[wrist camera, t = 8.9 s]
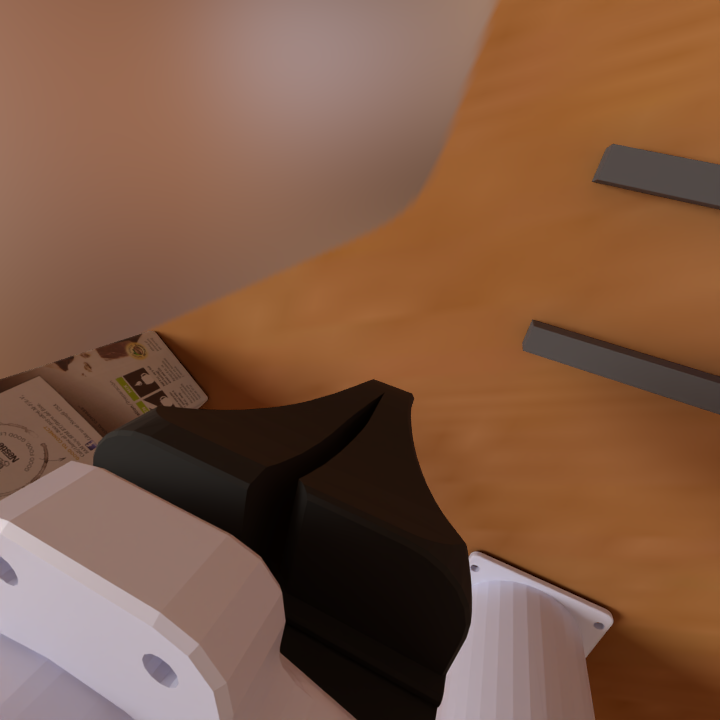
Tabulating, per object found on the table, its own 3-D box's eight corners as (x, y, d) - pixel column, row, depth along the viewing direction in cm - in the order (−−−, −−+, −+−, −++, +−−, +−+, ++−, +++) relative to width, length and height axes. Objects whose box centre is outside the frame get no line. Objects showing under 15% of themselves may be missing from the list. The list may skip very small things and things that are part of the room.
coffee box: (152, 325, 27) (-254, 451, 13) (212, 398, 27) (-116, 602, 13) (99, 391, 31) (-248, 541, 17) (151, 453, 32) (-145, 652, 17)
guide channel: (709, 402, 17) (722, 415, 16) (522, 342, 19) (523, 350, 18) (852, 197, 14) (881, 196, 13) (605, 148, 15) (612, 143, 14)
